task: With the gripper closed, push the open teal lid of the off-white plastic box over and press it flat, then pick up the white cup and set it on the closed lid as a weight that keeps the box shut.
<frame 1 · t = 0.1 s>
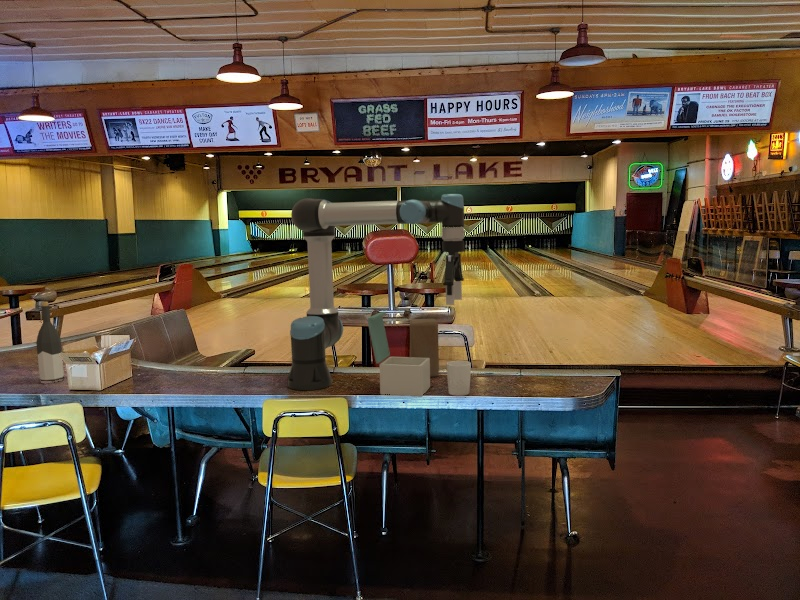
hand: (454, 302, 217), 28 cm above the table, fingers open, 13 cm apart
white cup: (459, 393, 206), on the table
box: (405, 390, 211), on the table
wine bottle: (52, 381, 237), on the table
lid: (381, 337, 211), point 18 cm above the table, hinge at 100.0°
block: (424, 374, 233), on the table
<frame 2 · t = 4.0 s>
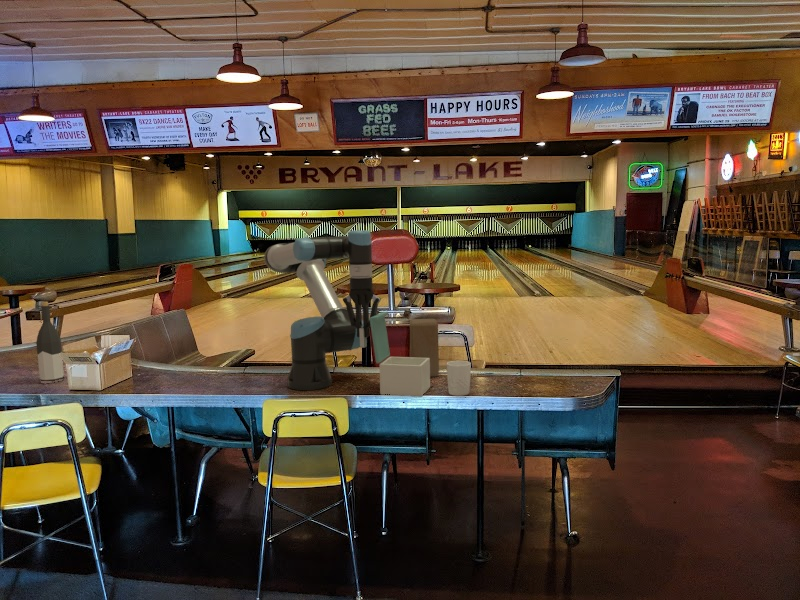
hand: (363, 346, 213), 14 cm above the table, fingers closed
lid: (382, 336, 211), point 18 cm above the table, hinge at 96.8°, touching hand
everything else where it was.
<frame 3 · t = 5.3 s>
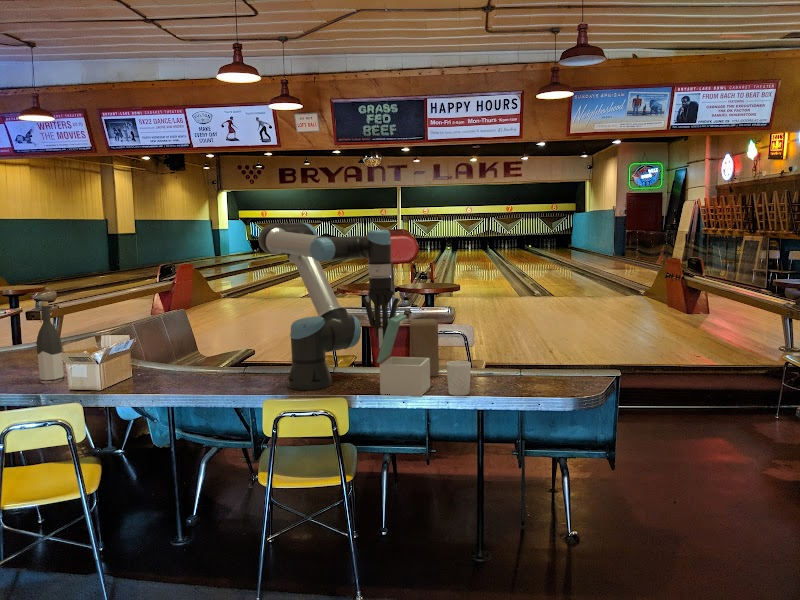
hand: (382, 347, 211), 14 cm above the table, fingers closed
lid: (391, 338, 210), point 18 cm above the table, hinge at 71.3°, touching gripper, hand
everything else where it was.
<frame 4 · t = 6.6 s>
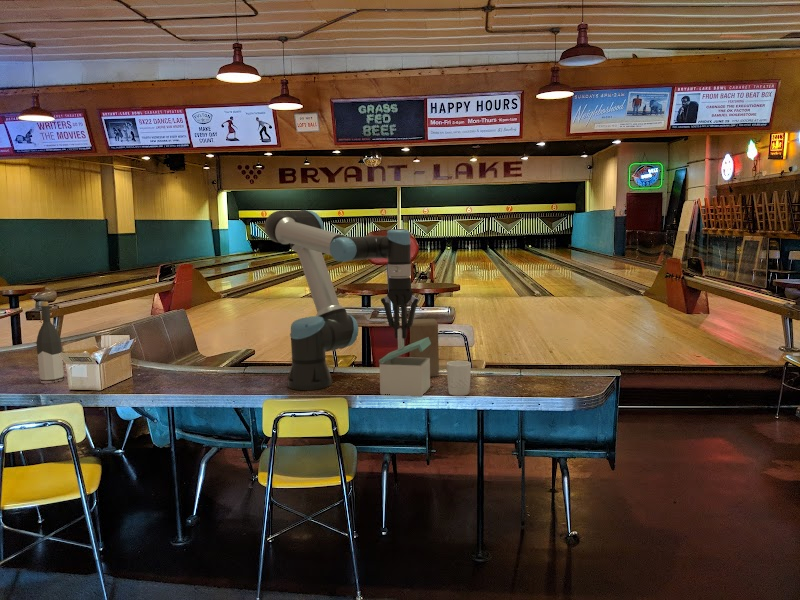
hand: (401, 348, 209), 14 cm above the table, fingers closed
lid: (405, 352, 209), point 13 cm above the table, hinge at 23.1°, touching gripper
everything else where it was.
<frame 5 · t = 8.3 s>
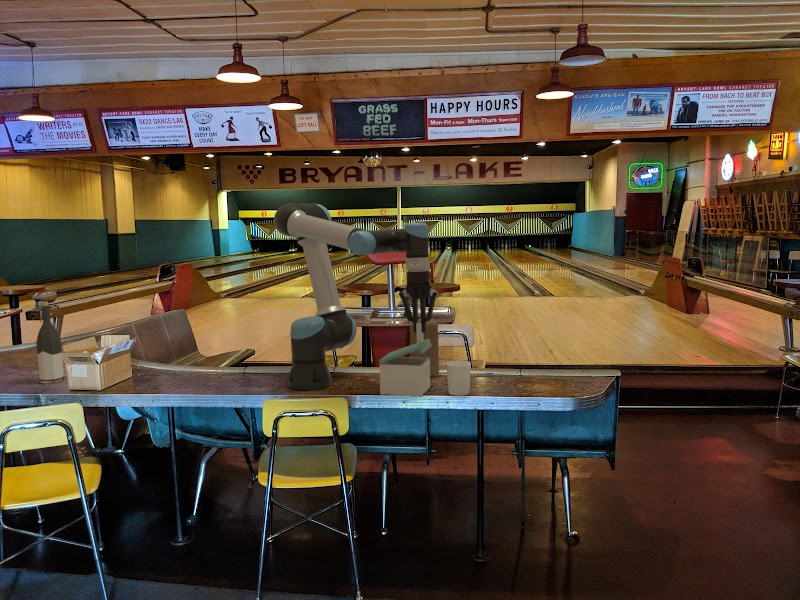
hand: (420, 342, 207), 17 cm above the table, fingers closed
lid: (405, 353, 209), point 13 cm above the table, hinge at 20.5°, touching gripper
everything else where it was.
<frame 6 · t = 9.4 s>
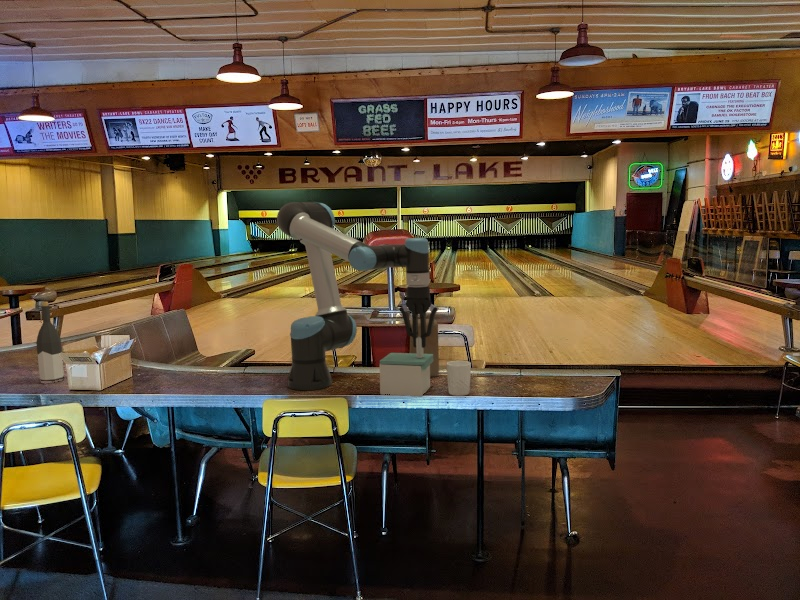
hand: (420, 357, 208), 12 cm above the table, fingers closed
lid: (407, 361, 210), point 10 cm above the table, hinge at 0.2°, touching gripper
everything else where it was.
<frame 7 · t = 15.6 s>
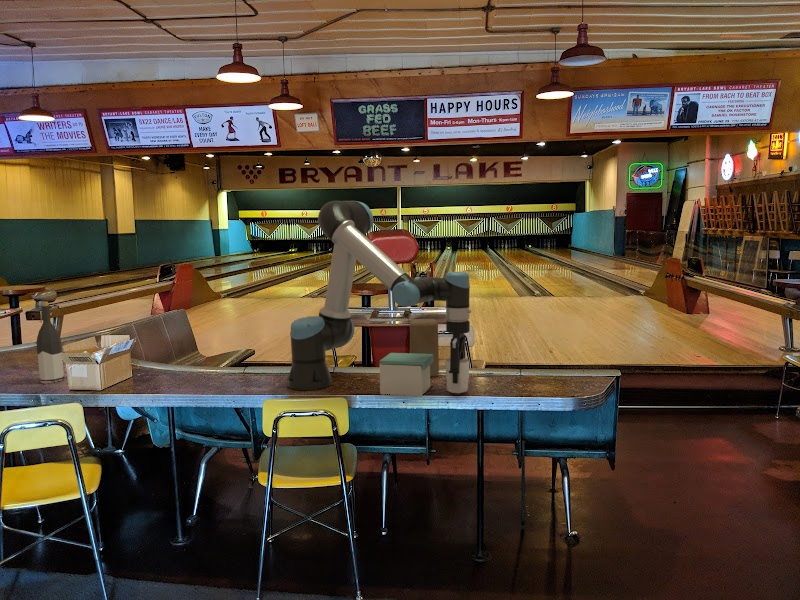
hand: (458, 389, 206), 1 cm above the table, fingers closed on white cup, 7 cm apart
white cup: (457, 390, 206), point 1 cm above the table, touching gripper
lid: (407, 361, 210), point 10 cm above the table, hinge at 0.0°
everything else where it was.
when the fingers open (13 cm above the table, at t = 21.1 s): white cup drops 1 cm, resting on lid.
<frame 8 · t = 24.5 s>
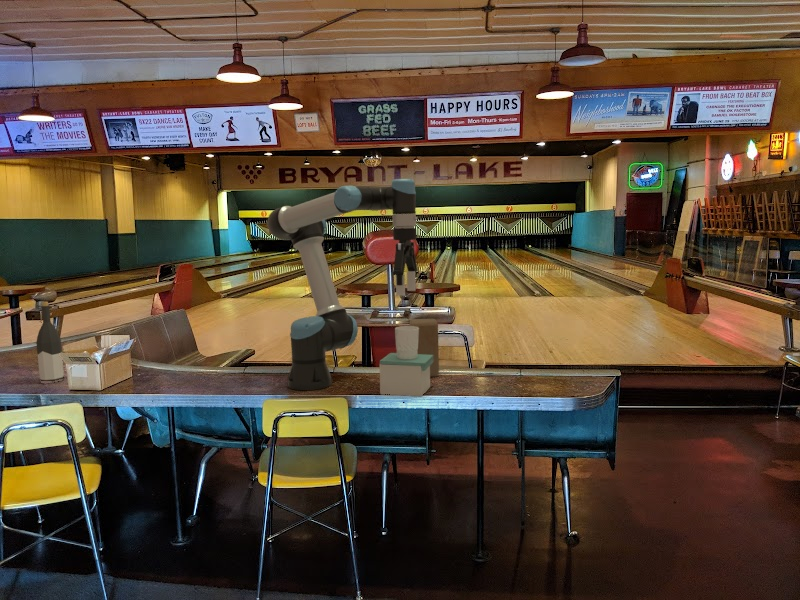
hand: (406, 293, 207), 33 cm above the table, fingers open, 13 cm apart
white cup: (407, 358, 210), point 11 cm above the table, touching lid
lid: (407, 361, 210), point 10 cm above the table, hinge at -1.0°, touching white cup
everything else where it was.
at the end: lid at -1° (first picture: +100°); white cup inside the target area on the box (0.3 cm from its centre), point 11.0 cm above the box's base; white cup tilted 1° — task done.
